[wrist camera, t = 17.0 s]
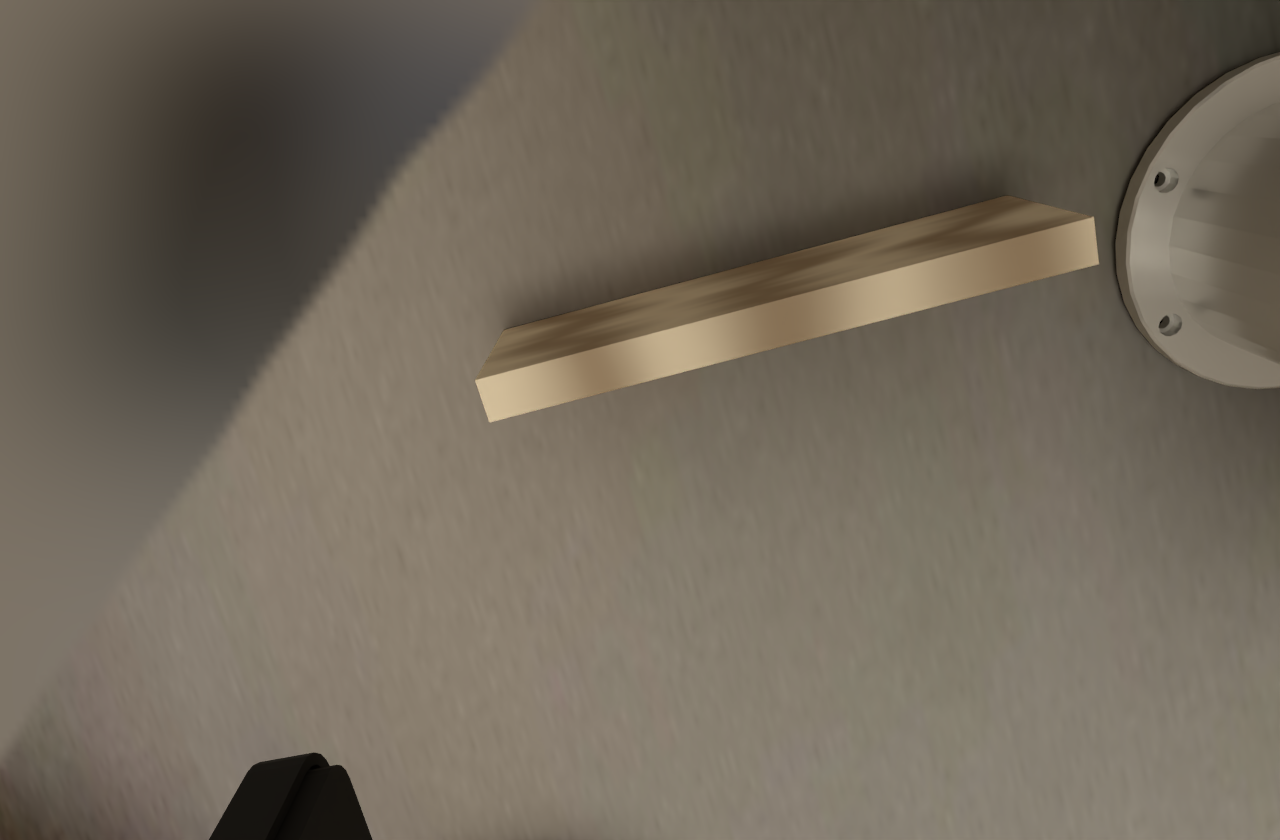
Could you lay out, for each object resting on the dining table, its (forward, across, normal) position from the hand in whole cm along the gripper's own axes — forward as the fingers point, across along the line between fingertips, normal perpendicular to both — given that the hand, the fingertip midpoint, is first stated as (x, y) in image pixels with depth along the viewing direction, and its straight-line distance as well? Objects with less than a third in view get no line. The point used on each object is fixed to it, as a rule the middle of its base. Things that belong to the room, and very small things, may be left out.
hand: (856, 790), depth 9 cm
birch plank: (+29, -3, +1) cm, 29 cm away
